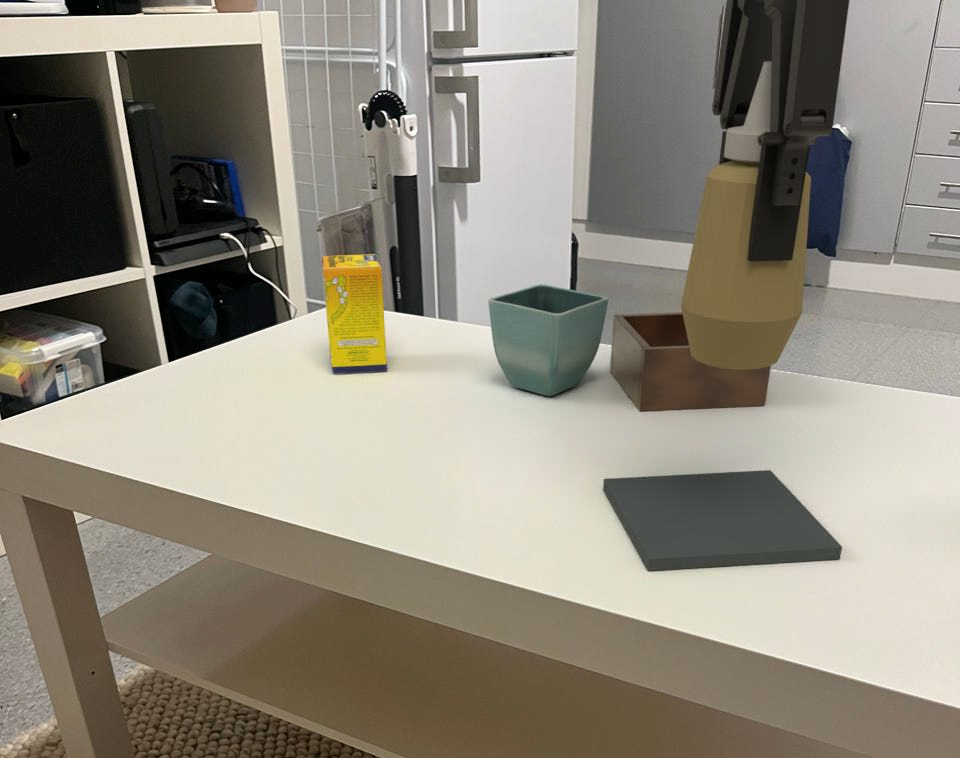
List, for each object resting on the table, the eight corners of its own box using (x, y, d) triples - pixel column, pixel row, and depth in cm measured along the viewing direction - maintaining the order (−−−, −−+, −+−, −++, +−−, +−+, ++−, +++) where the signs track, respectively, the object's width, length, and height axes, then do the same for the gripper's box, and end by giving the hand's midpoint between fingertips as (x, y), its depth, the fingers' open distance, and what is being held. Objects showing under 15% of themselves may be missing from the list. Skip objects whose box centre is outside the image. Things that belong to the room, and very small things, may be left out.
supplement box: (329, 358, 112) (320, 255, 107) (383, 355, 113) (377, 253, 107) (331, 375, 108) (322, 267, 102) (387, 372, 108) (382, 265, 102)
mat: (768, 481, 84) (770, 469, 83) (840, 559, 72) (842, 546, 71) (602, 489, 82) (603, 478, 82) (647, 571, 70) (649, 558, 70)
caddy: (723, 366, 110) (730, 310, 106) (765, 405, 99) (774, 344, 96) (609, 371, 108) (613, 314, 105) (639, 411, 98) (645, 349, 95)
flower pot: (605, 385, 104) (611, 295, 100) (555, 407, 99) (559, 314, 94) (537, 368, 109) (539, 282, 104) (485, 389, 103) (485, 299, 99)
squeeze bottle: (660, 368, 69) (690, 63, 59) (692, 338, 75) (723, 57, 65) (781, 384, 66) (833, 66, 56) (803, 351, 72) (853, 60, 62)
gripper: (688, -181, 62) (654, 222, 74) (815, -245, 46) (744, 284, 58) (806, -179, 63) (753, 219, 75) (972, -242, 46) (870, 280, 59)
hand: (749, 247), depth 66 cm, fingers closed on squeeze bottle, 6 cm apart
